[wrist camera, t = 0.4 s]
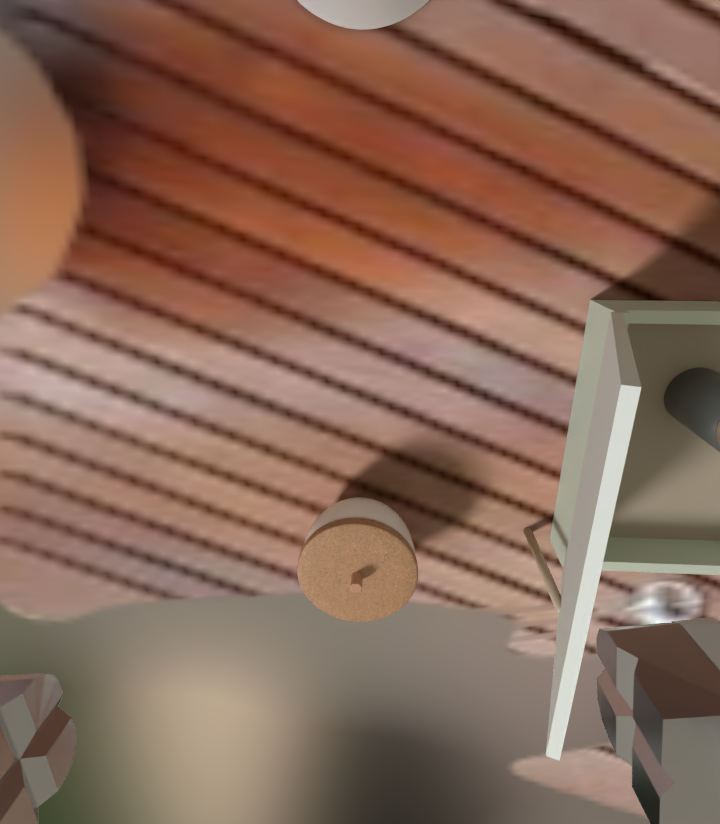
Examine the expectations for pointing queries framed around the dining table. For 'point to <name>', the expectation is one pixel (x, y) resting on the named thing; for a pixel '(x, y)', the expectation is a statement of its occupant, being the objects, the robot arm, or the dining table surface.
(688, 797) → the robot arm
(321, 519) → the lidded jar
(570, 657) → the pale grey-green hollow box
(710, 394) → the nursery pot
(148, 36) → the dining table surface
